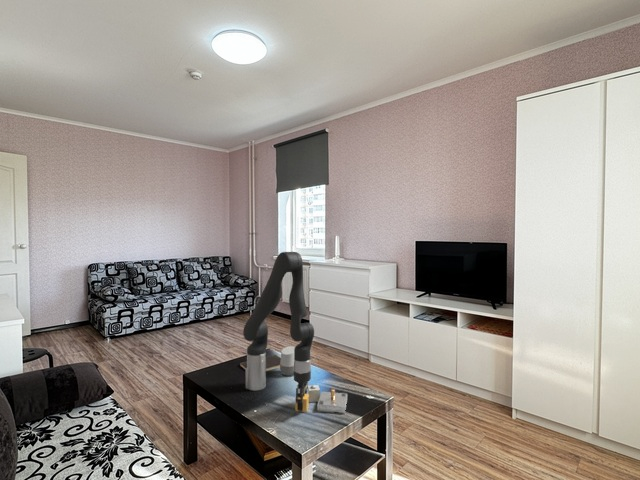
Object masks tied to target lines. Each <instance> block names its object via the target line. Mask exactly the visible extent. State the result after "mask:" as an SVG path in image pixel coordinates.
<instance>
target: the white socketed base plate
mask: <svg viewBox="0 0 640 480" xmlns="http://www.w3.org/2000/svg"><path fill="white" fill-rule="evenodd" d="M347 403H348V393H346V392H336V389H334V388H331V389H330V391H320V398H319V401H318V402H317V404H316V405H317V412H325V413H334V412H339V413H338V414H346V411H345V410H346V409H347V405H346V404H347Z"/></svg>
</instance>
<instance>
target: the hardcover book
mask: <svg viewBox="0 0 640 480" xmlns="http://www.w3.org/2000/svg"><path fill="white" fill-rule="evenodd" d="M280 361H281V356H279V355H276V354H272V355H267V356H266V372H267V371H271V370H274V369H278V368H279V369H280ZM239 366H240V367H242V368H243V370H245V371H246V369H247V360H245V361H244V362H242V361H241V362H240V363H239Z"/></svg>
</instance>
